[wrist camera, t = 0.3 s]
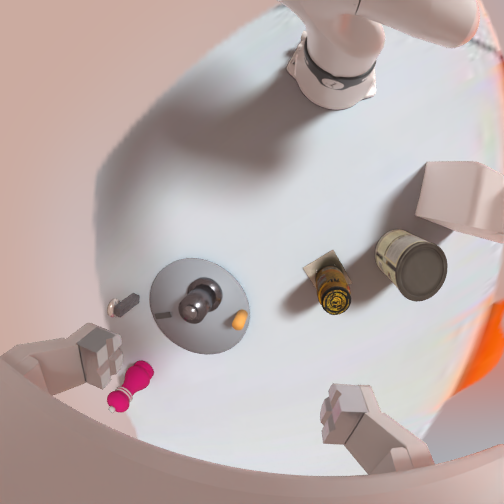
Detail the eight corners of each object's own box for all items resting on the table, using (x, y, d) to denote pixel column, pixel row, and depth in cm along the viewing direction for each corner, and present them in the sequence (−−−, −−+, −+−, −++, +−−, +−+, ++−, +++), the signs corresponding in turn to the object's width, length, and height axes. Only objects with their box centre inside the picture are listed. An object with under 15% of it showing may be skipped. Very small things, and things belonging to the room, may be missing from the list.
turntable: (158, 244, 59) (145, 250, 53) (262, 277, 57) (258, 287, 51) (148, 332, 65) (137, 343, 60) (236, 365, 63) (231, 379, 58)
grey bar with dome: (130, 287, 64) (107, 302, 54) (140, 291, 64) (117, 307, 54) (129, 302, 65) (107, 318, 56) (138, 306, 65) (117, 323, 55)
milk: (426, 161, 46) (503, 152, 22) (465, 180, 45) (543, 185, 20) (414, 215, 50) (487, 239, 25) (453, 230, 49) (529, 260, 24)
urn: (192, 272, 58) (173, 289, 49) (226, 283, 57) (212, 302, 48) (187, 303, 60) (168, 323, 51) (218, 313, 59) (205, 336, 50)
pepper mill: (158, 369, 69) (125, 414, 50) (150, 382, 72) (119, 425, 52) (138, 354, 69) (101, 396, 50) (131, 367, 71) (96, 408, 52)
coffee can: (425, 246, 51) (457, 263, 37) (399, 284, 54) (423, 311, 40) (392, 218, 51) (420, 229, 37) (365, 259, 54) (384, 282, 40)
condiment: (322, 299, 57) (328, 326, 46) (302, 267, 56) (304, 288, 45) (352, 282, 55) (364, 305, 44) (332, 249, 54) (342, 265, 43)
